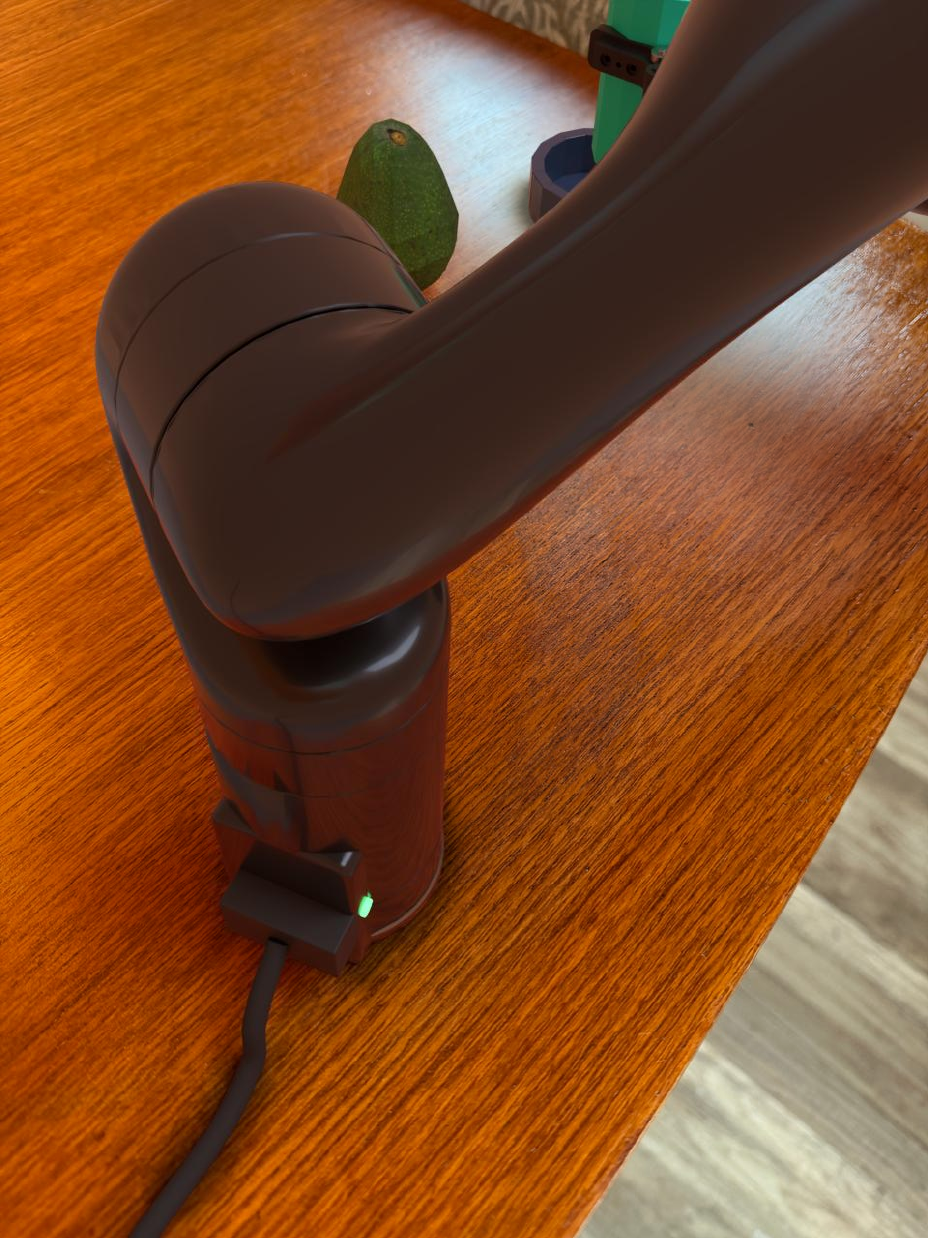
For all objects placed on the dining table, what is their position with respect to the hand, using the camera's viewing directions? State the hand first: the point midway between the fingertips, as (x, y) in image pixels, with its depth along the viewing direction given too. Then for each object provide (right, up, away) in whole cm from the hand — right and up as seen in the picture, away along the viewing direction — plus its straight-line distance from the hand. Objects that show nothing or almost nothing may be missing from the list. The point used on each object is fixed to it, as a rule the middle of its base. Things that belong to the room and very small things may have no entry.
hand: (617, 24), depth 67 cm
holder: (+1, -4, +19) cm, 19 cm away
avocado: (-13, -11, +13) cm, 22 cm away
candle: (+2, -6, +5) cm, 8 cm away
